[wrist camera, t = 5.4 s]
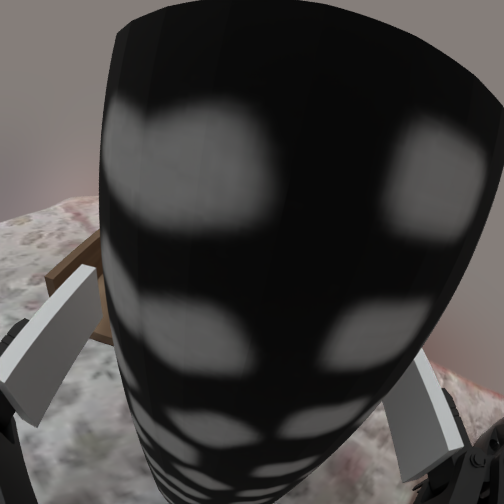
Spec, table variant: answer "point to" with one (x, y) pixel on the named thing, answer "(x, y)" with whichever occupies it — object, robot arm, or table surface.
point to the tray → (92, 257)
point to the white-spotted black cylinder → (279, 229)
